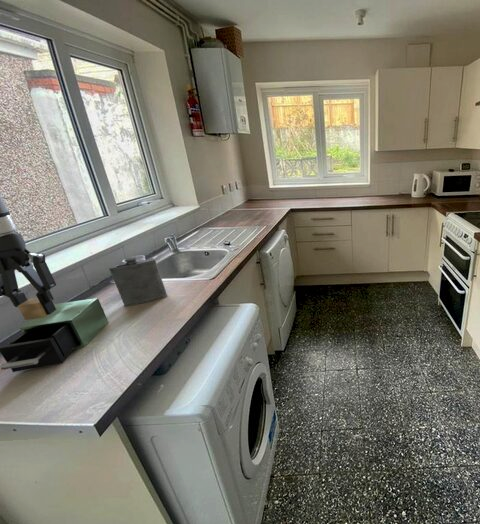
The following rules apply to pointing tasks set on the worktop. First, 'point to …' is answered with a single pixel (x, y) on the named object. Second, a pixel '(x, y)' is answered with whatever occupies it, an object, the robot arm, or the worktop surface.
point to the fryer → (75, 319)
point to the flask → (138, 281)
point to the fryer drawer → (39, 347)
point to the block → (32, 309)
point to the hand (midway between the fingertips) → (40, 313)
